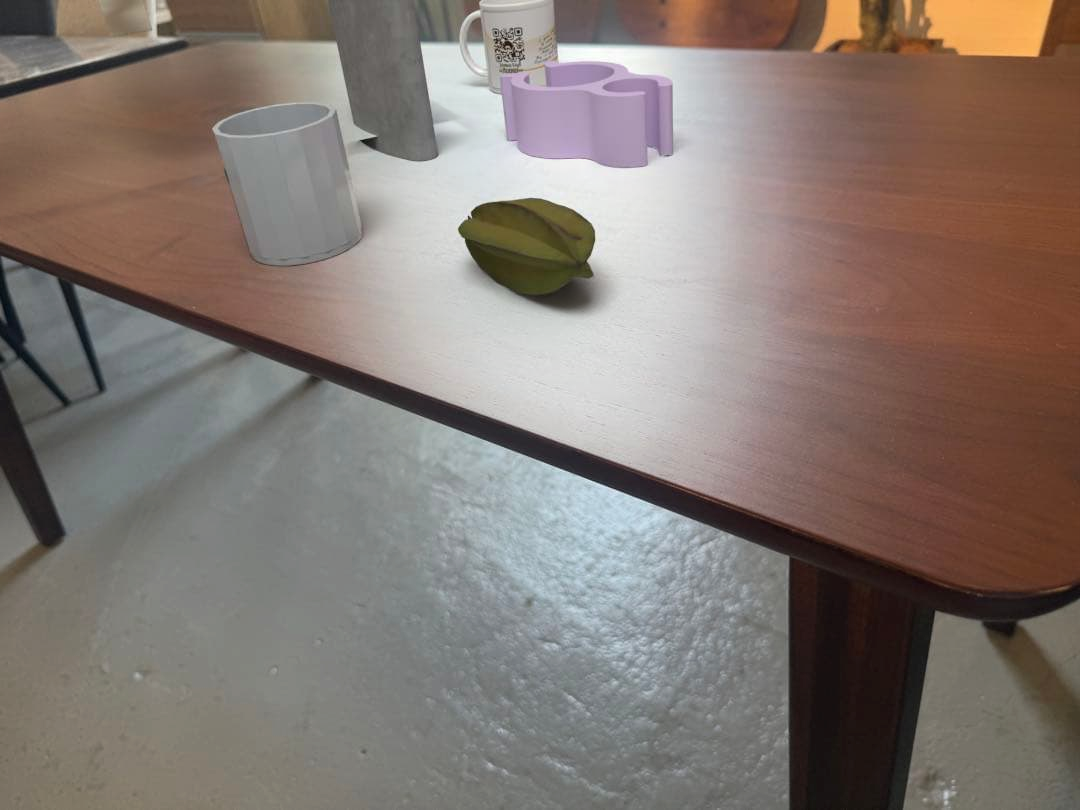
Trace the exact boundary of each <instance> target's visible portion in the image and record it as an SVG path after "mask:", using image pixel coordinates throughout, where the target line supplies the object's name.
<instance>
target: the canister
mask: <svg viewBox="0 0 1080 810" xmlns="http://www.w3.org/2000/svg"><path fill="white" fill-rule="evenodd" d="M341 129H342V128H341V125H340V121H339V116H338V111H337V109H336V108H335V107H334V106H333V105H332V104H330V103H324V102H320V101H296V102H295V101H294V102H288V103H277V104H271V105H266V106H261V107H256V108H252V109H248V110H244V111H242V112H238V113H235V114H232V115H230V116H228V117H226V118H224V119H222V120H219V121H218V122H217V123H216V124H215V125H214V126H212V128H211V130H212V134H213V137H214V140H215V144H216V147H217V150H218V153H219V158H220V161H221V163H222V167H223V171H224V173H225V177H226V180H227V184H228V187H229V190H230V194H231V197H232V200H233V203H234V207H235V210H236V213H237V214H236V215H237V217H238V220H239V223H240V227H241V230H242V233H243V236H244V241H245V243H246V246H247V249H248V251H249V254H250V257H251V258H252V260H254V261H256V262H257V263H259V264H263V265H268V266H275V267H276V266H277V267H289V266H298V265H299V266H300V265H307V264H312V263H316V262H319V261H323V260H326V259H327V260H328V259H330V258H333V257H335V256H337V255H340V254H343V253H344V252H346V251H348V250H350V249H351V248H353V247H354V246H355V245H357V244H358V243H359V242H360V241H361V240H362V236H363V230H362V225H363V224H362V221H361V216H360V211H359V207H358V202H357V197H356V193H355V187H354V183H353V180H352V175H351V171H350V166H349V162H348V157H347V151H346V148H345V143H344V139H343V133H342V130H341Z"/></svg>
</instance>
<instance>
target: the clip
mask: <svg viewBox="0 0 1080 810" xmlns="http://www.w3.org/2000/svg"><path fill="white" fill-rule="evenodd" d="M544 64H545V76H546V87H540V86H533V85H530V81H529V74H527V73H513V74H502V75H500V83H501V92H502V94H501V99H502V101H501V102H502V107H503V117H504V118H503V119H504V126H505V134H506V140H507V141H516V142H517V148H518V150H519V151H520V152H521V153H523V154H526V155H528V156H531V157H536V158H541V159H542V158H543V159H559V160H560V159H561V160H562V159H587V160H591V161H594V162H595V163H597V164H599V165H602V166H606V167H611V168H640V167H646V166H648V146H650V147H649V148H653V147H655V148H654V149H656V148H657V149H658V150H657V149H656V150H657V151H658V155H659V154H660V155H659V156H661V155H670V154H672V153H673V154H674V112H673V110H674V105H673V104H674V97H673V96H674V93H673V92H674V91H673V88H674V86H673V80H672V79H671V78H668V77H666V76H663V75H655V74H639V73H638V74H637V73H632V72H630V71H629V69H628V68H627V67H626V66H625V65H622V64H621V63H620V64H619V63H616V62H615V63H614V62H609V61H597V60H592V61H591V60H590V61H589V60H586V61H583V60H582V61H581V60H580V61H569V62H568V61H567V62H558V63H557V61H547V62H544ZM673 154H672V155H673ZM670 156H671V155H670Z"/></svg>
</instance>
